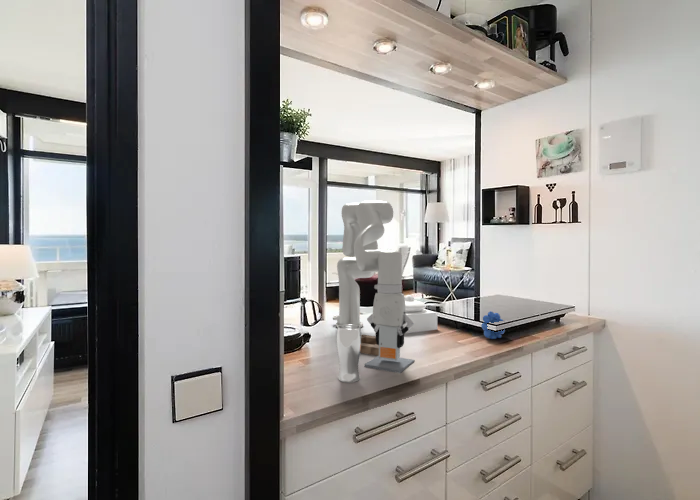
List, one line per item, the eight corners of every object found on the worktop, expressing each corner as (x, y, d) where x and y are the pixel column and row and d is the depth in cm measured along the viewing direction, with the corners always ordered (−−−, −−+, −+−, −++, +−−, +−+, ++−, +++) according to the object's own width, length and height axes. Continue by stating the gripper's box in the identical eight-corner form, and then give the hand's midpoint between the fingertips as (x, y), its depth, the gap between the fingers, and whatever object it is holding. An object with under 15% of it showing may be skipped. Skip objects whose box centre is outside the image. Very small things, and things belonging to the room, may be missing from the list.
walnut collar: (343, 350, 133) (343, 342, 133) (362, 342, 145) (362, 334, 145) (378, 356, 126) (378, 348, 126) (394, 347, 138) (394, 339, 138)
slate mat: (364, 367, 115) (364, 364, 115) (381, 357, 126) (381, 354, 126) (399, 374, 109) (399, 370, 109) (414, 362, 120) (414, 359, 119)
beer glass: (341, 373, 110) (341, 323, 109) (364, 376, 108) (363, 324, 107) (333, 382, 103) (333, 328, 103) (357, 384, 101) (357, 330, 101)
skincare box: (378, 358, 117) (378, 321, 116) (382, 354, 121) (382, 318, 120) (397, 361, 114) (397, 322, 114) (400, 357, 118) (400, 319, 118)
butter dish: (437, 332, 162) (437, 296, 161) (400, 336, 155) (400, 298, 155) (416, 324, 178) (416, 291, 178) (382, 327, 172) (382, 293, 172)
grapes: (490, 345, 140) (490, 314, 140) (477, 341, 146) (477, 311, 146) (512, 342, 145) (512, 311, 145) (499, 338, 151) (499, 309, 151)
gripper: (360, 288, 118) (360, 344, 119) (411, 292, 110) (411, 352, 110) (370, 286, 125) (370, 339, 125) (419, 289, 116) (419, 346, 116)
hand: (389, 344), depth 118 cm, fingers closed on skincare box, 6 cm apart
